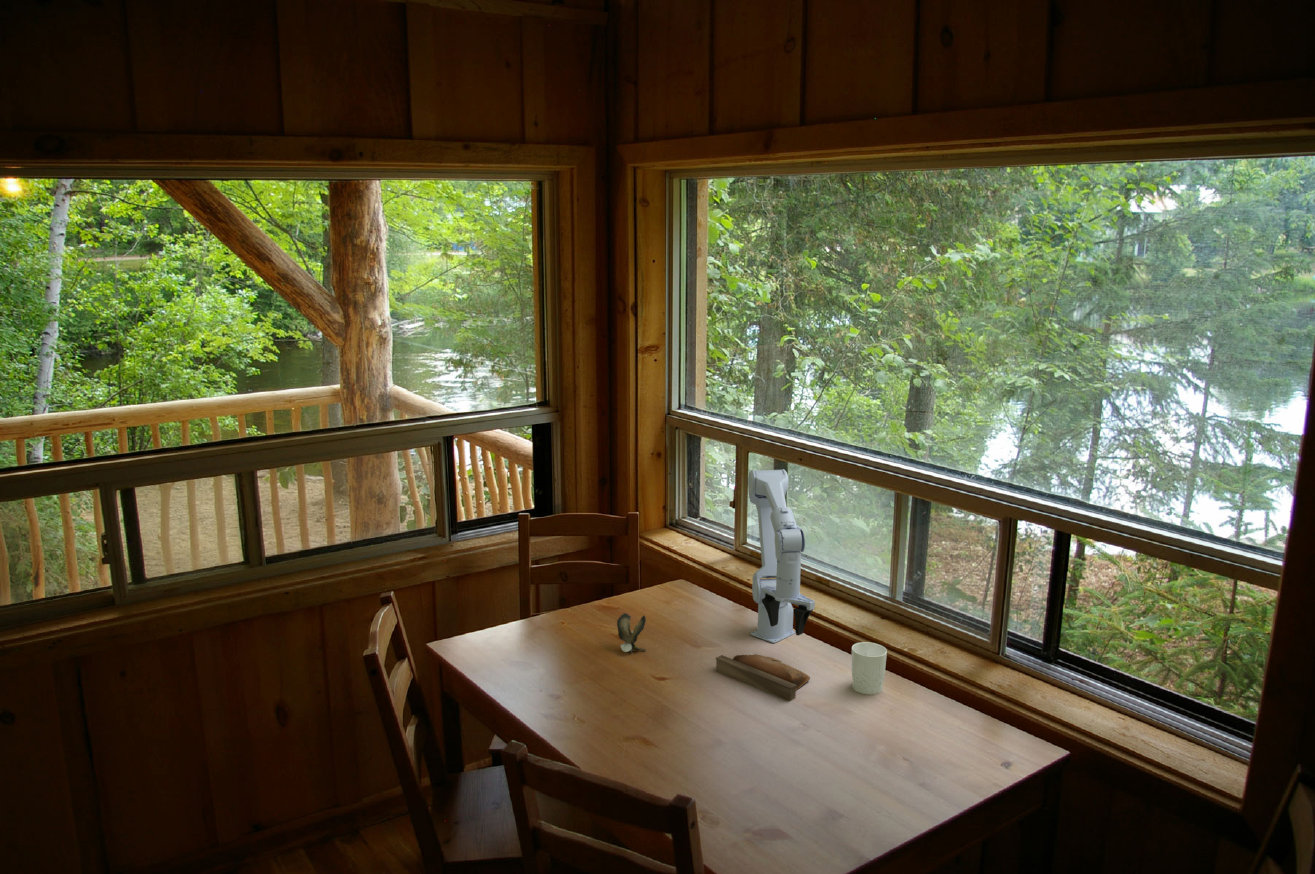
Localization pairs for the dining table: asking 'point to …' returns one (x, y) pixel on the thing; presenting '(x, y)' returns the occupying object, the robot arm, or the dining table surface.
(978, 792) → the dining table surface
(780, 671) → the sunglasses case
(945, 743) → the dining table surface
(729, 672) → the walnut stop rail
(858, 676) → the white cup
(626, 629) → the eagle figurine
